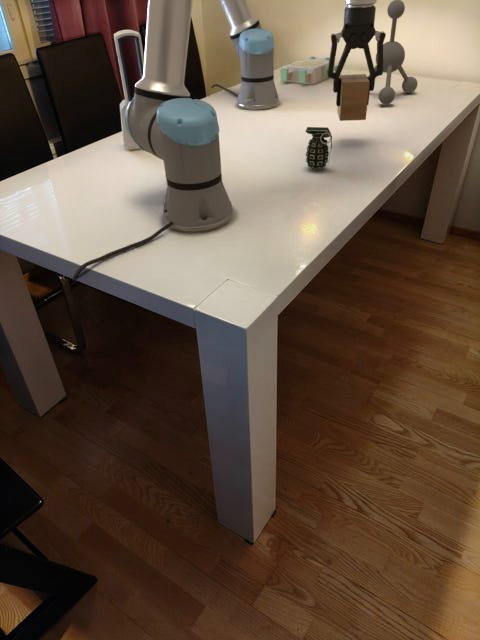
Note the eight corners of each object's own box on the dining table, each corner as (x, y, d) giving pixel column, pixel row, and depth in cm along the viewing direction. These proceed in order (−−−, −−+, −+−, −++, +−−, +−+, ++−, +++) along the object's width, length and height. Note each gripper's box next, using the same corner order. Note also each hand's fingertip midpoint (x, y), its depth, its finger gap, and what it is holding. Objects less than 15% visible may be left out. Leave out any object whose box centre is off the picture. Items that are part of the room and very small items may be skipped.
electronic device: (125, 150, 145) (103, 35, 126) (123, 143, 151) (101, 31, 132) (166, 145, 147) (150, 30, 129) (163, 137, 153) (147, 27, 134)
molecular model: (436, 99, 173) (455, -2, 154) (383, 108, 167) (396, 4, 148) (396, 85, 190) (408, -7, 172) (347, 93, 184) (354, -1, 166)
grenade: (303, 171, 125) (304, 132, 119) (306, 163, 129) (307, 125, 123) (329, 173, 124) (331, 132, 117) (331, 164, 128) (333, 125, 122)
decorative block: (303, 54, 216) (344, 57, 207) (302, 70, 220) (342, 74, 211) (271, 65, 200) (314, 69, 191) (271, 82, 204) (314, 87, 195)
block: (365, 119, 132) (369, 81, 126) (339, 120, 133) (342, 82, 127) (361, 110, 139) (365, 73, 133) (337, 111, 140) (339, 75, 134)
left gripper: (399, 1, 122) (386, 99, 136) (318, 6, 124) (315, 101, 138) (404, 5, 116) (391, 106, 130) (320, 9, 118) (316, 109, 132)
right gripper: (383, -81, 162) (375, -5, 175) (307, -77, 164) (305, -1, 177) (387, -82, 156) (378, -3, 169) (308, -77, 158) (306, 1, 171)
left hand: (352, 104), depth 134 cm, fingers closed on block, 7 cm apart
